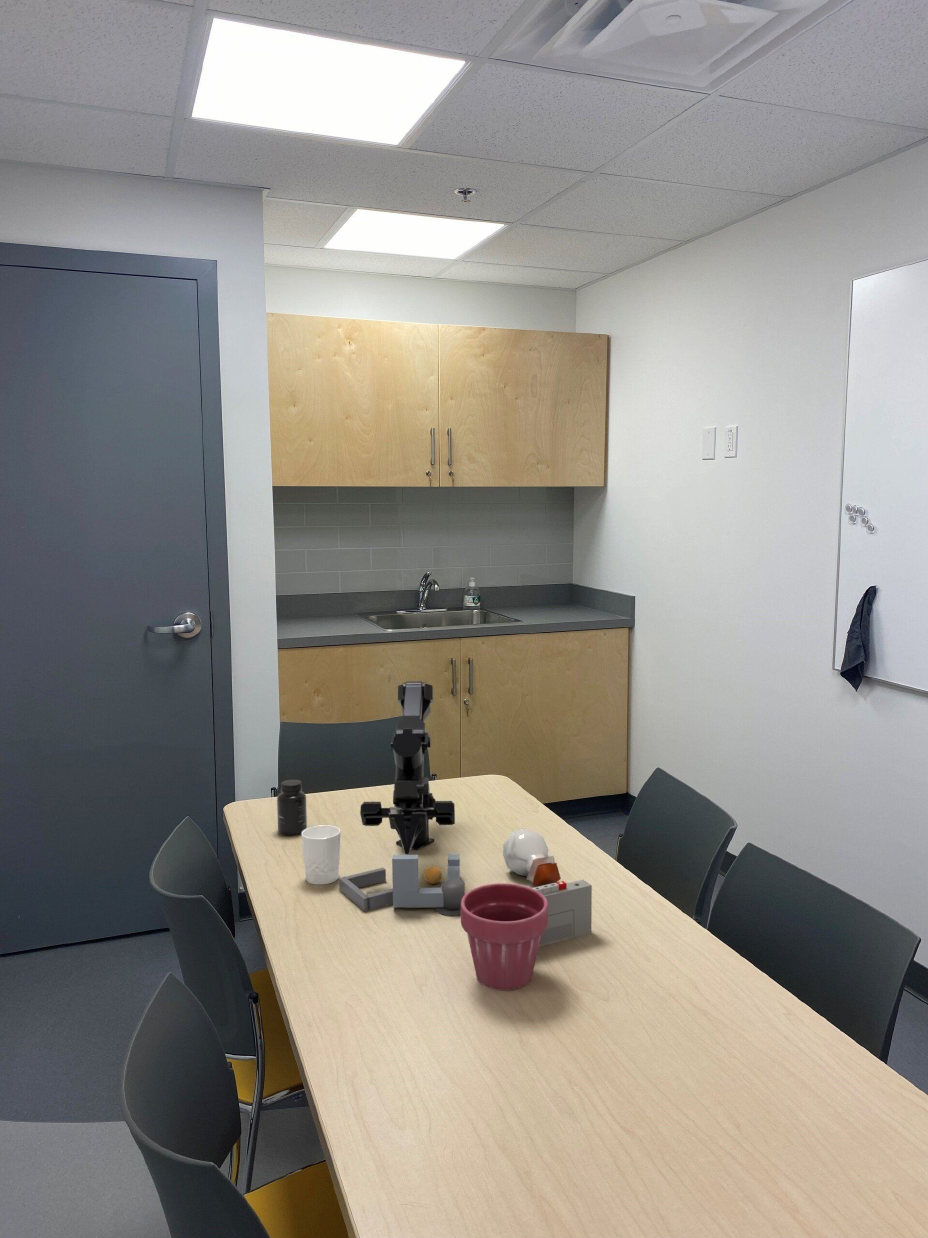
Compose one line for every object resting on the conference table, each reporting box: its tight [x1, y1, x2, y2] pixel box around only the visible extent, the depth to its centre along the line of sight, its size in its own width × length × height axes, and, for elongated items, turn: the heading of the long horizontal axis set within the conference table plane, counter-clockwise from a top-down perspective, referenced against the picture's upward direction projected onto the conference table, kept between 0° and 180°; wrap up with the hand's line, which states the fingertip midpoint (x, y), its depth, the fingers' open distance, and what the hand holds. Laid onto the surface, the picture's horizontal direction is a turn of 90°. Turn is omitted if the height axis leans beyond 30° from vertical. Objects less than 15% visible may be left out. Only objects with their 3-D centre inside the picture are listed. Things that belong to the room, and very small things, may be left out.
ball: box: [424, 865, 443, 885], centre depth 180 cm, size 4×4×4 cm
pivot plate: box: [434, 907, 461, 917], centre depth 169 cm, size 7×7×1 cm
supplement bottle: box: [276, 779, 308, 837], centre depth 210 cm, size 7×7×12 cm
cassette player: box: [531, 879, 593, 947], centre depth 156 cm, size 16×3×10 cm, turn 116°
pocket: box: [338, 867, 393, 912], centre depth 175 cm, size 10×11×2 cm
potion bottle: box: [502, 828, 561, 887], centre depth 182 cm, size 9×10×15 cm
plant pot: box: [460, 882, 548, 991], centre depth 144 cm, size 14×14×13 cm
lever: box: [391, 853, 466, 909], centre depth 175 cm, size 17×14×10 cm
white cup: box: [301, 824, 341, 886], centre depth 183 cm, size 8×8×10 cm
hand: (406, 853), depth 173 cm, fingers closed
